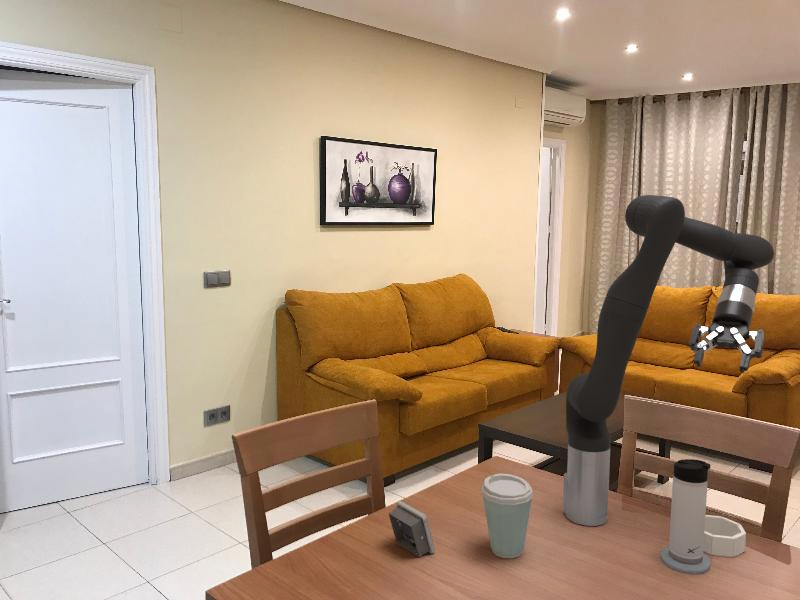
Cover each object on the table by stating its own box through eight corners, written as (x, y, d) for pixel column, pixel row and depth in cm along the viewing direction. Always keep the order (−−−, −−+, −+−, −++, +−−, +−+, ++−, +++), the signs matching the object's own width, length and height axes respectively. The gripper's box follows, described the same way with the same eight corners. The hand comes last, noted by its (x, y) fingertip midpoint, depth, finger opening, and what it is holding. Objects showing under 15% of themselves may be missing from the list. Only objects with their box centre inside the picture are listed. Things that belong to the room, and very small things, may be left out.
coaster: (651, 557, 130) (651, 553, 130) (679, 546, 135) (679, 541, 134) (691, 579, 122) (692, 574, 122) (719, 565, 127) (719, 561, 127)
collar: (679, 540, 137) (680, 522, 137) (708, 528, 142) (709, 511, 142) (724, 561, 129) (725, 542, 128) (753, 547, 134) (754, 529, 133)
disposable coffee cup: (543, 553, 132) (545, 484, 130) (506, 571, 125) (508, 498, 123) (505, 533, 140) (506, 468, 138) (469, 549, 133) (470, 480, 132)
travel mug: (698, 569, 124) (704, 470, 121) (664, 557, 128) (669, 461, 126) (708, 556, 128) (714, 460, 126) (674, 545, 133) (680, 452, 130)
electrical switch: (436, 553, 132) (433, 512, 130) (416, 564, 129) (413, 521, 127) (407, 536, 139) (404, 496, 137) (389, 545, 136) (385, 505, 134)
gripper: (698, 296, 147) (681, 353, 139) (769, 301, 138) (755, 362, 130) (703, 316, 151) (687, 372, 144) (771, 322, 143) (758, 382, 135)
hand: (719, 367), depth 137 cm, fingers open, 8 cm apart
